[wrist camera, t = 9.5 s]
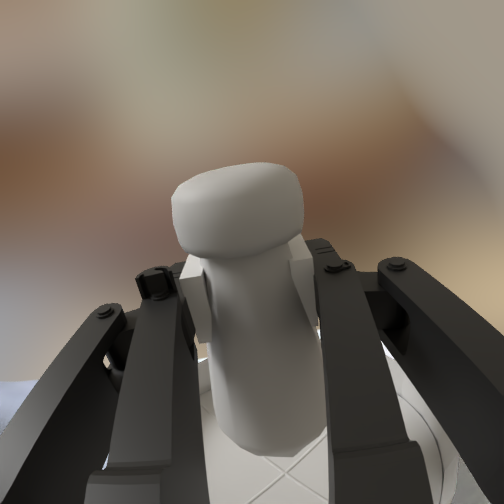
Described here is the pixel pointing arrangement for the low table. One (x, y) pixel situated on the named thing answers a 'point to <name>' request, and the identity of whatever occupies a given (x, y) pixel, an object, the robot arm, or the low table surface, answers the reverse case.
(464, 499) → the low table surface
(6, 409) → the low table surface
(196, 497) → the robot arm
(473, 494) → the low table surface
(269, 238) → the salt shaker
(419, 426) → the dish
